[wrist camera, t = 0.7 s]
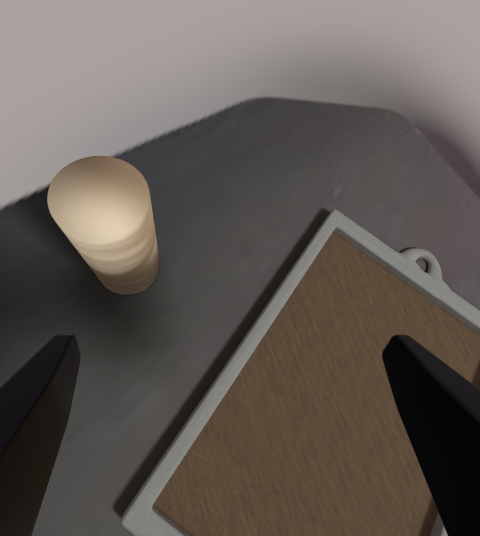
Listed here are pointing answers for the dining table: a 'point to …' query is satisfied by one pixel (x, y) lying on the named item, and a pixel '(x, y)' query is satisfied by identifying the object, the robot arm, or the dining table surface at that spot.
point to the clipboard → (315, 405)
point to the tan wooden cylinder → (108, 221)
